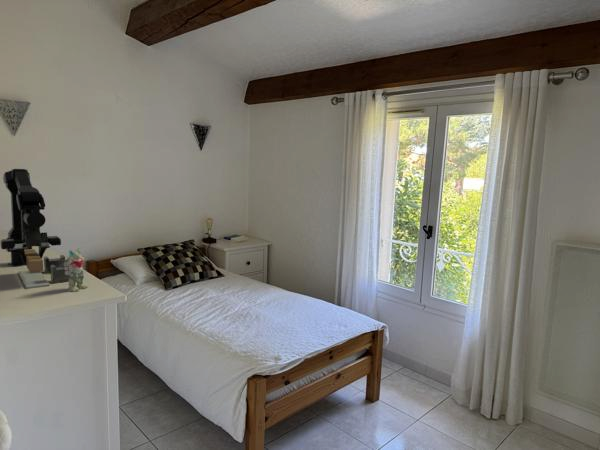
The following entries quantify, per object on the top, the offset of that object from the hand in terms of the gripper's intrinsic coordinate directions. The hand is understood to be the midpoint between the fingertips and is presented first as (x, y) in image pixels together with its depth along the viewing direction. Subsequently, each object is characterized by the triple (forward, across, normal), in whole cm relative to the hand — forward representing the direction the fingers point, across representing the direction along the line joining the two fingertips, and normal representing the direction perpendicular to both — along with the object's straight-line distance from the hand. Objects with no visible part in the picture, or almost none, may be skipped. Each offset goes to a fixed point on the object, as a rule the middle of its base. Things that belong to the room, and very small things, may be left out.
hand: (32, 264), depth 154 cm
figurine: (+6, +11, -21) cm, 24 cm away
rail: (0, 0, 0) cm, 0 cm away
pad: (+6, 0, 0) cm, 6 cm away
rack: (+6, +8, 0) cm, 10 cm away
